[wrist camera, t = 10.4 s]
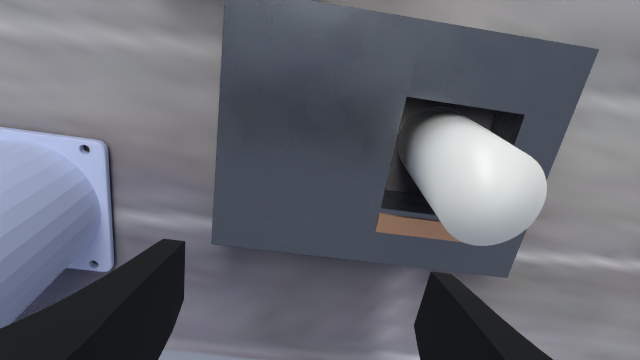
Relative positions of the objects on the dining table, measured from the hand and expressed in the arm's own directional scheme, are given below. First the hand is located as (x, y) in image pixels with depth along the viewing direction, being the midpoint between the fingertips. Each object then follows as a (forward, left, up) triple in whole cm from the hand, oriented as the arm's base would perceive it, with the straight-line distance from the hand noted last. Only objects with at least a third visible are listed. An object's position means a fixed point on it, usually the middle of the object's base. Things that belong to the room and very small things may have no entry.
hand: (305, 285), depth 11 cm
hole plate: (+4, +2, -10) cm, 11 cm away
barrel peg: (+7, +2, -10) cm, 13 cm away
